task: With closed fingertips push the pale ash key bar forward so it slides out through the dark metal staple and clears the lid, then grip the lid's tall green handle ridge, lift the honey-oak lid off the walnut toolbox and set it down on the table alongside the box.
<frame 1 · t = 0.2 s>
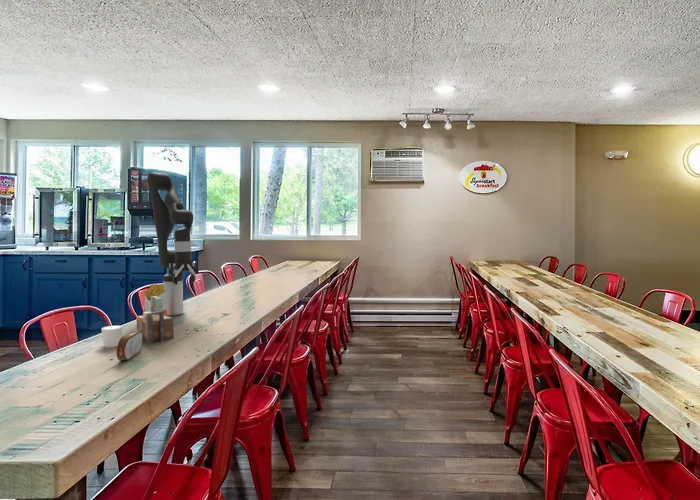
hand: (184, 283, 197), 17 cm above the table, tool pointing down, fingers open, 8 cm apart
key: (151, 316, 160), point 10 cm above the table, slide at 0.0 cm
white cup: (112, 345, 154), on the table
lid: (153, 319, 166), point 7 cm above the table, touching toolbox
tin: (131, 357, 141), on the table
french fries container: (155, 322, 189), on the table
toolbox: (155, 336, 165), on the table
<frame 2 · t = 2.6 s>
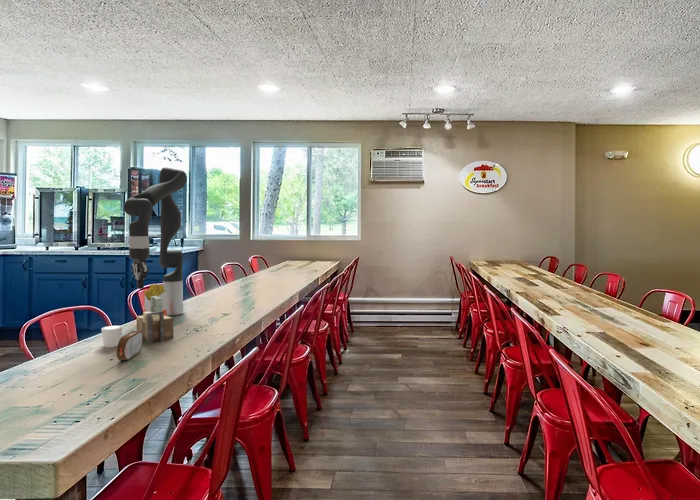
hand: (140, 288, 166), 20 cm above the table, tool pointing down, fingers closed
nothing on the table moved.
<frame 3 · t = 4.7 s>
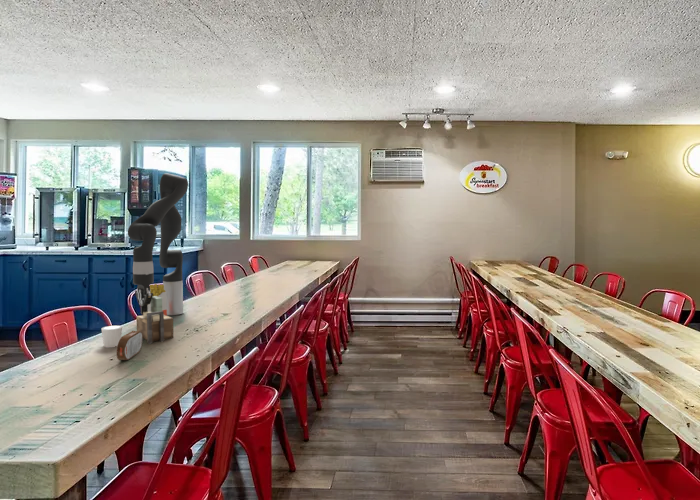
hand: (144, 314, 164), 10 cm above the table, tool pointing down, fingers closed
key: (151, 316, 160), point 10 cm above the table, slide at 0.1 cm, touching gripper
everything else where it was.
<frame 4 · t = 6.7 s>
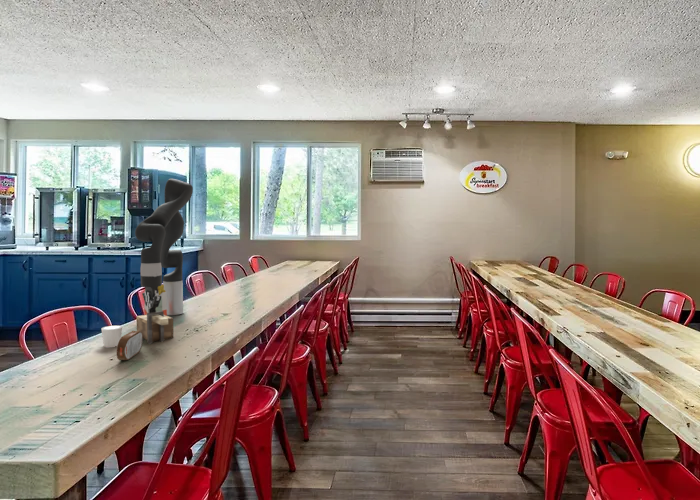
hand: (152, 317, 159), 10 cm above the table, tool pointing down, fingers closed
key: (159, 319, 155), point 10 cm above the table, slide at 8.0 cm
everything else where it was.
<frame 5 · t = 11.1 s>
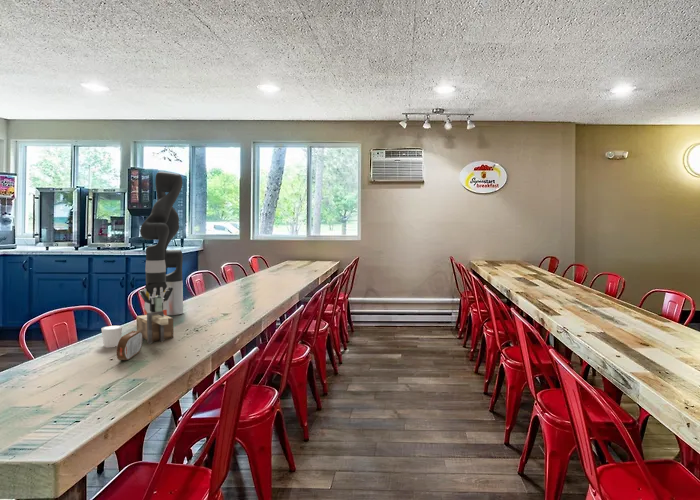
hand: (156, 311, 166), 10 cm above the table, tool pointing down, fingers closed on lid
lid: (153, 319, 166), point 7 cm above the table, touching gripper, toolbox
everything else where it was.
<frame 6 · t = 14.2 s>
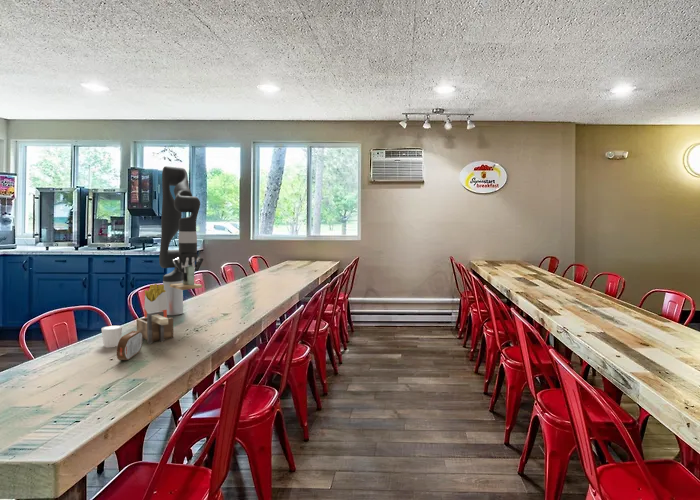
hand: (188, 280, 176), 22 cm above the table, tool pointing down, fingers closed on lid
lid: (185, 287, 175), point 19 cm above the table, touching gripper
everything else where it was.
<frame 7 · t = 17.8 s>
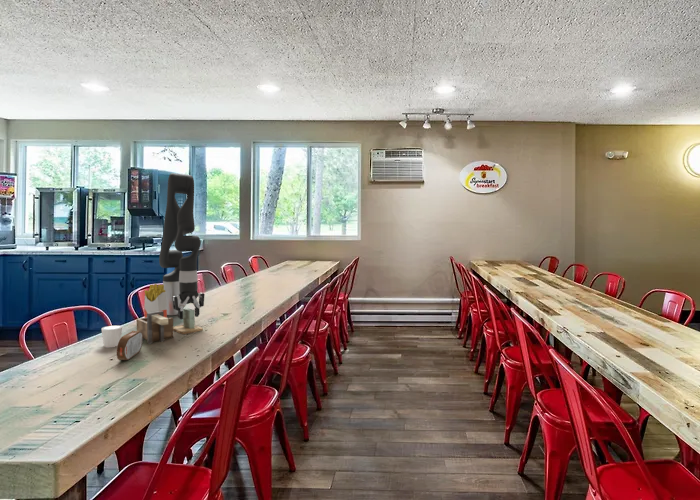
hand: (189, 317, 177), 5 cm above the table, tool pointing down, fingers open, 6 cm apart
lid: (186, 330, 177), on the table
everything else where it was.
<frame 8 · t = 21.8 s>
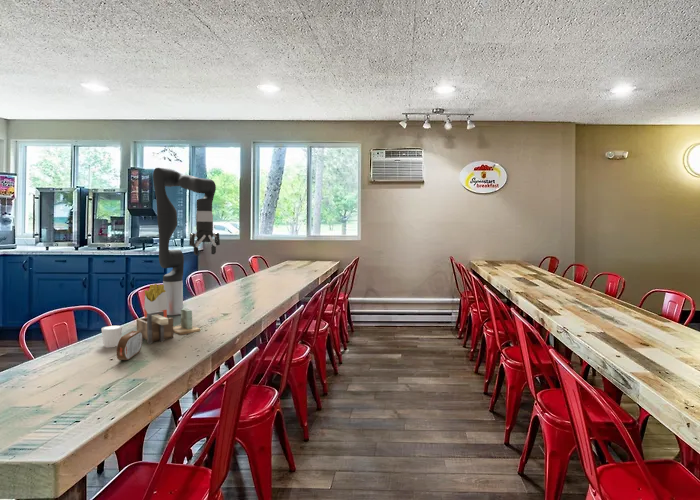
hand: (205, 254, 191), 32 cm above the table, tool pointing down, fingers open, 8 cm apart
lid: (183, 330, 176), on the table
everything else where it was.
at the end: key slide at 8.0 cm; lid inside the target area (1.7 cm from its centre), on the table; lid touching table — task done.
